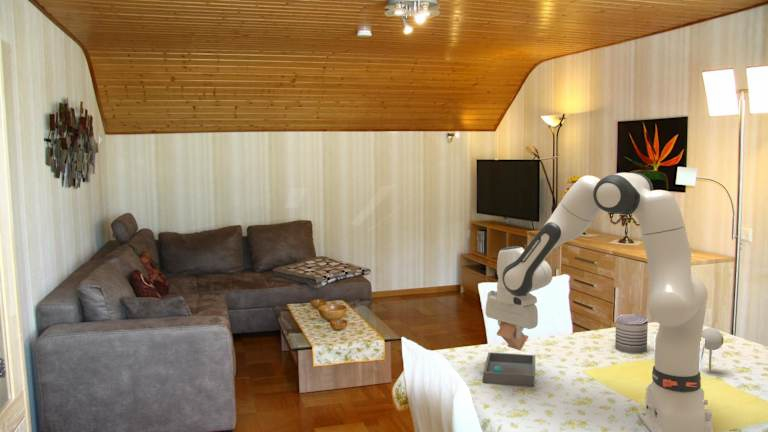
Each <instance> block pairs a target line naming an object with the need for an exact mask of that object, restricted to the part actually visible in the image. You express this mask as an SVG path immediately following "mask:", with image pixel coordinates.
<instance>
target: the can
mask: <svg viewBox="0 0 768 432" xmlns="http://www.w3.org/2000/svg"><path fill="white" fill-rule="evenodd" d="M614 320H615V343H614V345H615V347H614V348H615V350H616V351H617V352H620V353H622V354H628V355H629V354H630V355H642V354H646V353H647V352H648V329H649V327H648V325H649V323H648V321H650V319H649V317H647V316H646V315H641V314H637V313H636V314H635V313H629V314H620V315H618V316H616V317H614Z"/></svg>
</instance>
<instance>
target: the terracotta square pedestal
mask: <svg viewBox="0 0 768 432" xmlns="http://www.w3.org/2000/svg"><path fill="white" fill-rule="evenodd" d="M516 331H517V328H516V325H513V324H510V323H506V322H503V324H502V325H501V327H499V329H498V331H497V332H496V335H497V336H499V337H501V338H502V339H503V340H504V342H506V344H507V347H508V348H511V349H514V350H516V351H521V350H522V349H523V347H524V346H525V344H526V342H527V340H528V339H529V336H528V335H527V334H526V335H525V334H524V333H523V331H522V332H521V338H519V339H517V338H514V333H515V332H516Z"/></svg>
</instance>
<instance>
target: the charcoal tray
mask: <svg viewBox="0 0 768 432" xmlns="http://www.w3.org/2000/svg"><path fill="white" fill-rule="evenodd" d="M496 366H500V367H501V368H502V373H497V372H493V369H494V367H496ZM535 375H536V355H535V354H522V353H505V352H504V353H503V352H490V351H489V352H487V356H486V361H485V364H484V367H483V371H482V382H483V383H484V384H490V385H491V384H493V385H494V384H495V385H507V386H520V387H535ZM483 383H482V384H483Z"/></svg>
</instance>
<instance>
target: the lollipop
mask: <svg viewBox="0 0 768 432" xmlns="http://www.w3.org/2000/svg"><path fill="white" fill-rule="evenodd" d="M701 337H703V338H705V348H704V349H706V350H708V351H709V352H708V353H709V354H708V373H709V374H711V371H712V354H713V353H712V352H713V351H716V350H718V349H720V348H721V347H722V346H723V344H724V336H723V334H722V332H720V330H718V329H716V328H714V327H708V328H705V329H704V328H703V330H702V336H701Z"/></svg>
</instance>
